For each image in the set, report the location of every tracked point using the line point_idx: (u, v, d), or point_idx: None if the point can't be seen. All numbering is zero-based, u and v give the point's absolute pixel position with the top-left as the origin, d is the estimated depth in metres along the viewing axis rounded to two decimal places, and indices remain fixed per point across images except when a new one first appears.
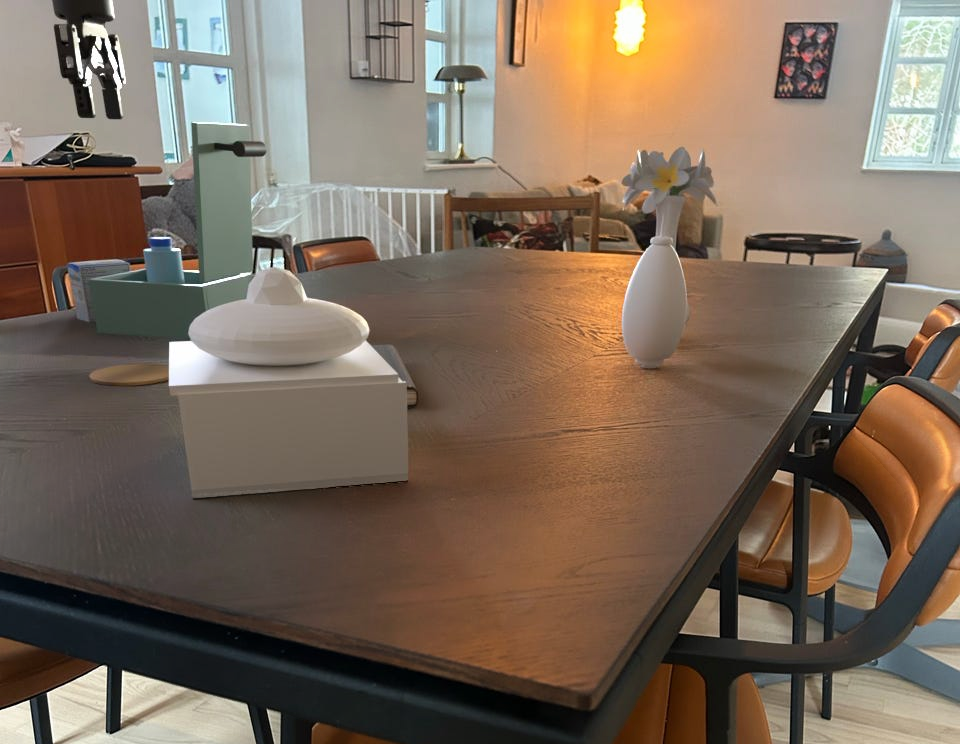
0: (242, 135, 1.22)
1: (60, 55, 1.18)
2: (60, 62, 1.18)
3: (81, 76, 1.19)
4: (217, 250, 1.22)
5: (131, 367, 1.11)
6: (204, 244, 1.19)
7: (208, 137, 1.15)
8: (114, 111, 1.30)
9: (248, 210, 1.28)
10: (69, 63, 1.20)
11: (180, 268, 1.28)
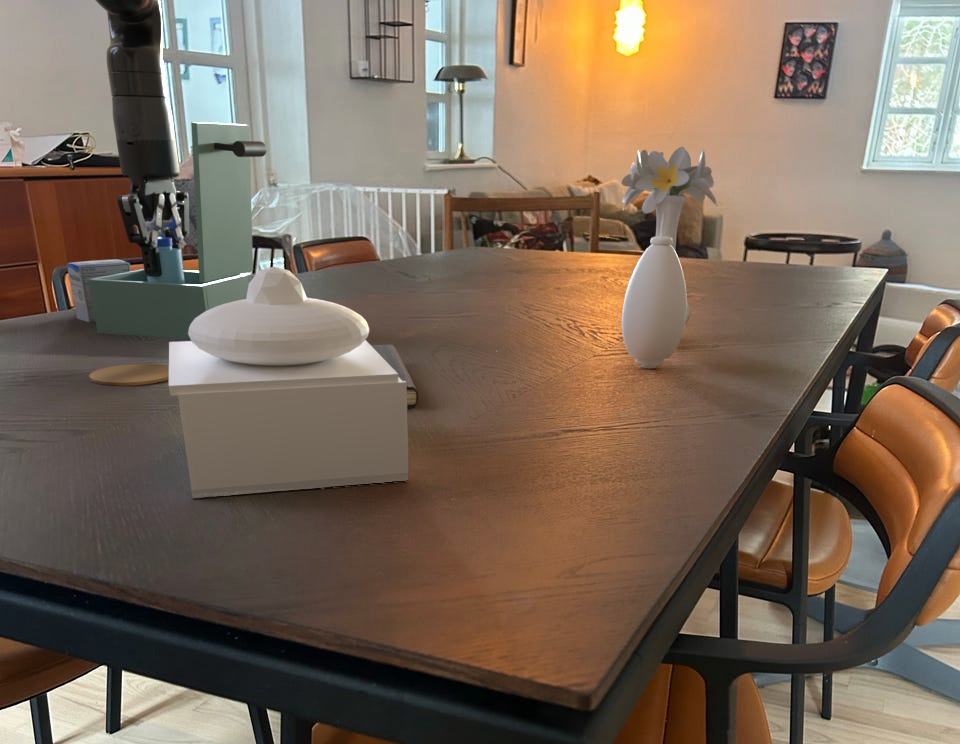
0: (242, 135, 1.22)
1: (126, 225, 1.21)
2: (127, 231, 1.21)
3: (147, 241, 1.22)
4: (217, 250, 1.22)
5: (131, 367, 1.11)
6: (204, 244, 1.19)
7: (208, 137, 1.15)
8: None
9: (248, 210, 1.28)
10: (136, 226, 1.24)
11: (180, 268, 1.28)
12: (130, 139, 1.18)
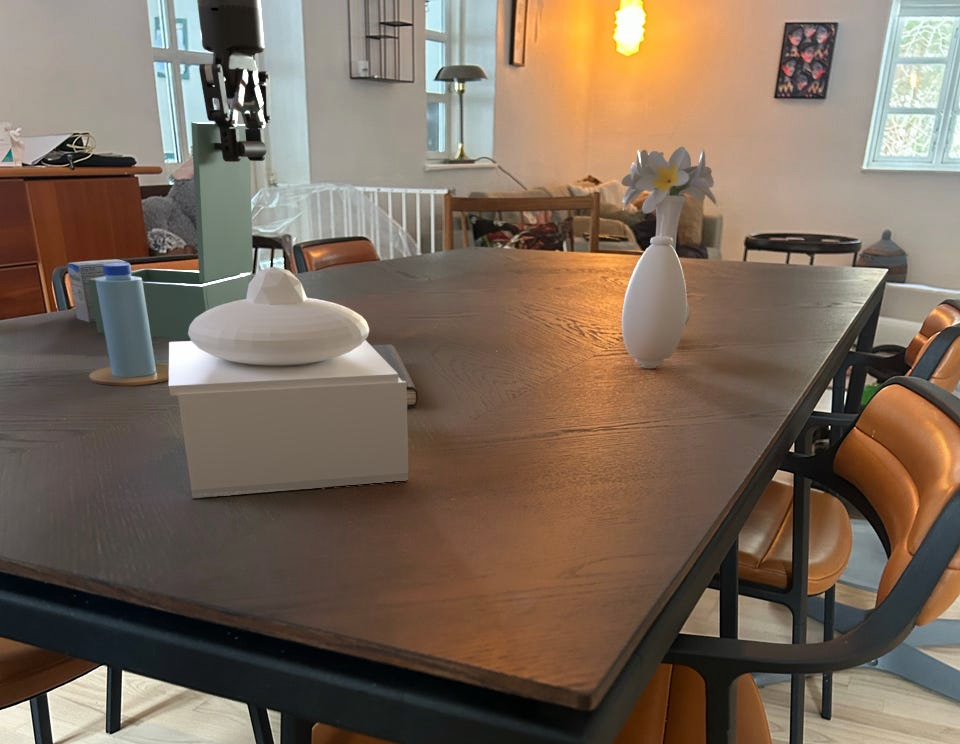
0: (242, 135, 1.22)
1: (206, 98, 1.10)
2: (206, 105, 1.11)
3: (227, 118, 1.12)
4: (217, 250, 1.22)
5: None
6: (204, 244, 1.19)
7: (208, 137, 1.15)
8: None
9: (248, 210, 1.28)
10: (216, 103, 1.13)
11: (142, 301, 1.04)
12: (215, 4, 1.08)
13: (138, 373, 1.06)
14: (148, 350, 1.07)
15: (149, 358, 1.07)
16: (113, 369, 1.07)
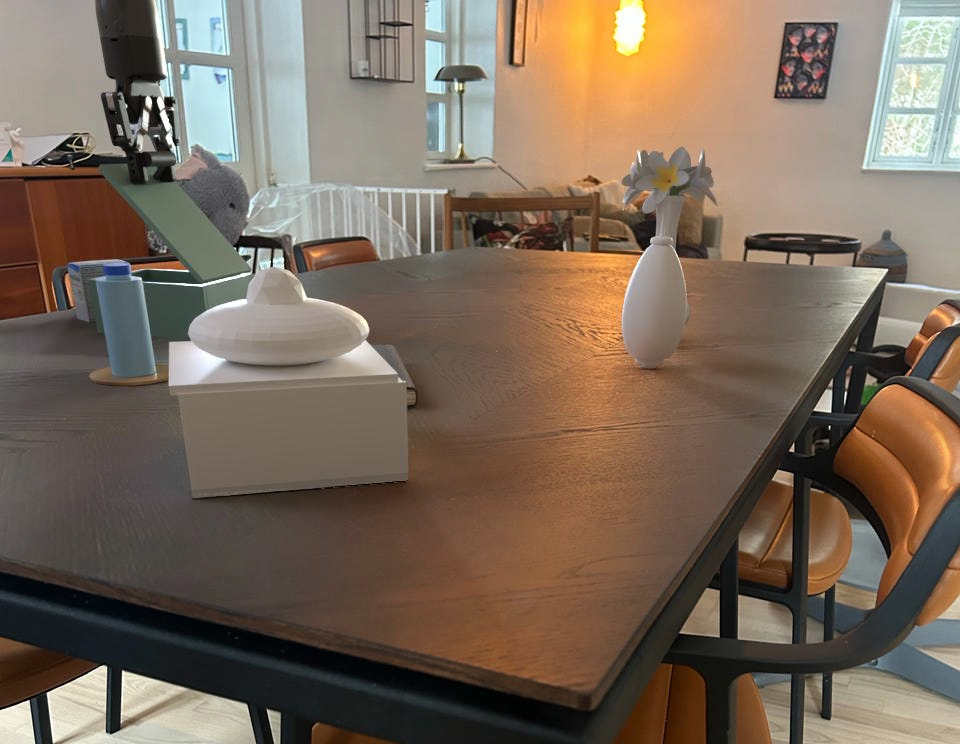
0: None
1: (110, 125, 1.15)
2: (110, 131, 1.15)
3: (131, 143, 1.16)
4: (197, 255, 1.23)
5: None
6: (180, 250, 1.20)
7: (121, 174, 1.20)
8: (166, 174, 1.25)
9: (209, 223, 1.30)
10: (121, 129, 1.18)
11: (142, 301, 1.04)
12: (114, 35, 1.12)
13: (138, 373, 1.06)
14: (148, 350, 1.07)
15: (149, 358, 1.07)
16: (113, 369, 1.07)
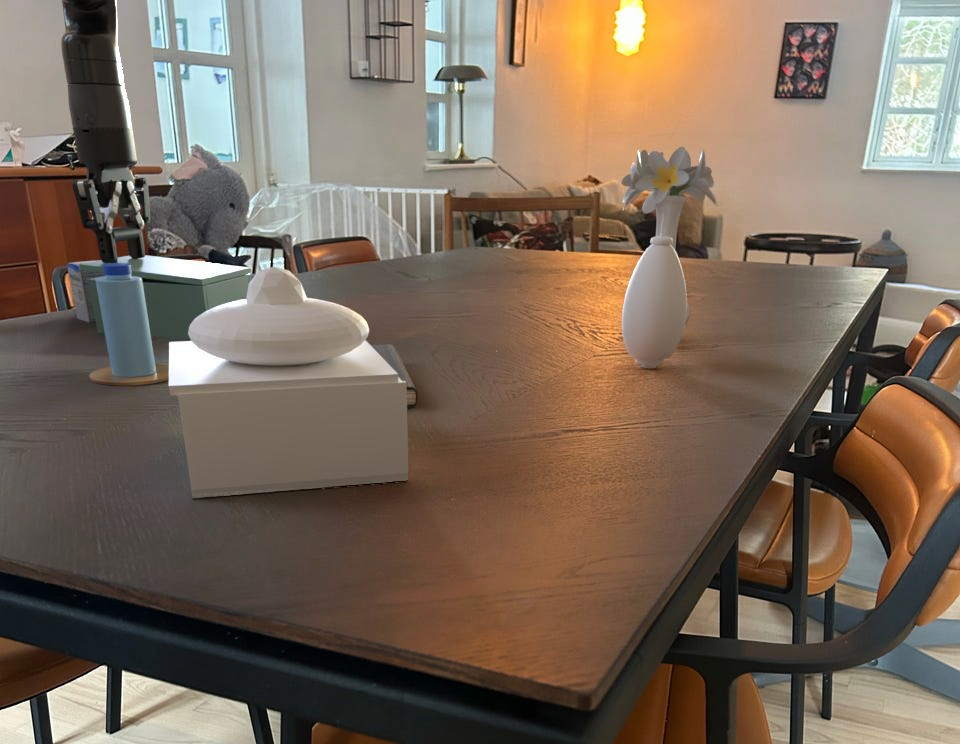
0: None
1: (81, 210, 1.21)
2: (81, 216, 1.22)
3: (101, 227, 1.23)
4: (191, 273, 1.25)
5: None
6: (171, 274, 1.22)
7: (100, 263, 1.26)
8: None
9: (196, 262, 1.33)
10: (92, 212, 1.24)
11: (142, 301, 1.04)
12: (86, 127, 1.19)
13: (138, 373, 1.06)
14: (148, 350, 1.07)
15: (149, 358, 1.07)
16: (113, 369, 1.07)
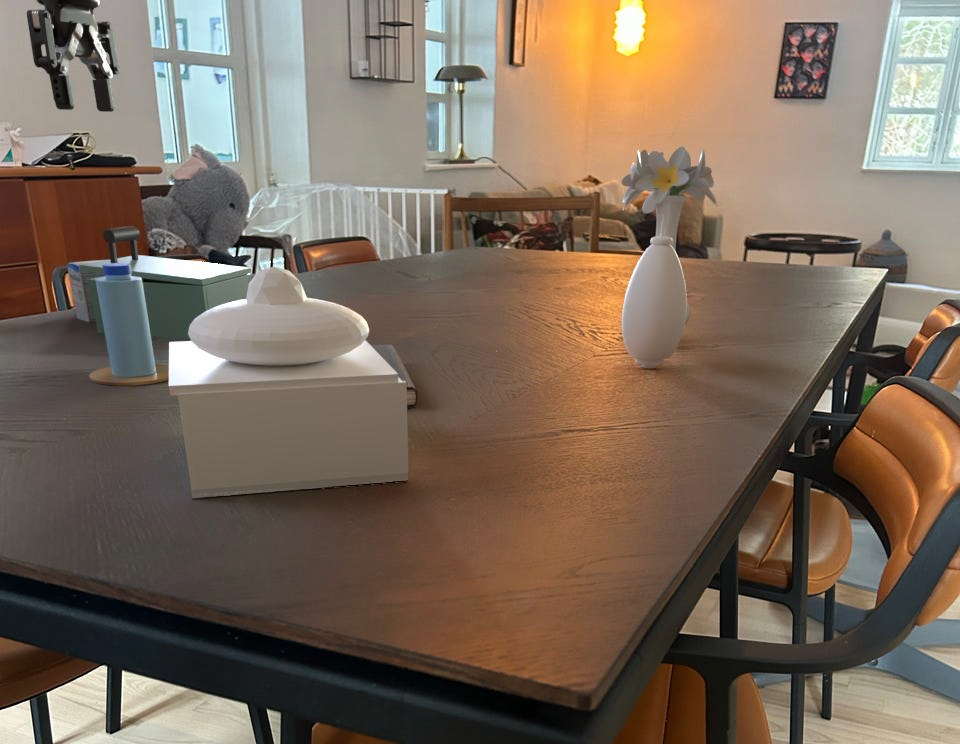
0: None
1: (33, 43, 1.12)
2: (33, 50, 1.12)
3: (54, 65, 1.13)
4: (191, 273, 1.25)
5: None
6: (171, 274, 1.22)
7: (100, 263, 1.26)
8: (104, 103, 1.24)
9: (196, 262, 1.33)
10: None
11: (142, 301, 1.04)
12: None
13: (138, 373, 1.06)
14: (148, 350, 1.07)
15: (149, 358, 1.07)
16: (113, 369, 1.07)
